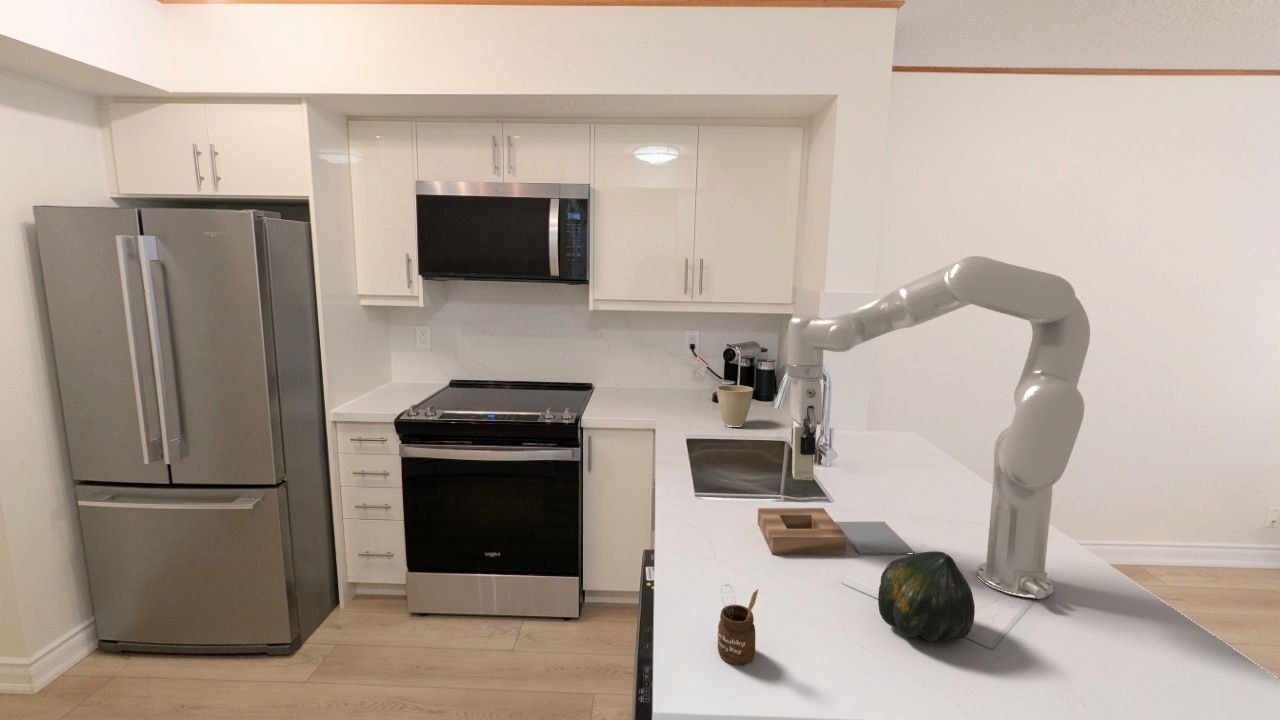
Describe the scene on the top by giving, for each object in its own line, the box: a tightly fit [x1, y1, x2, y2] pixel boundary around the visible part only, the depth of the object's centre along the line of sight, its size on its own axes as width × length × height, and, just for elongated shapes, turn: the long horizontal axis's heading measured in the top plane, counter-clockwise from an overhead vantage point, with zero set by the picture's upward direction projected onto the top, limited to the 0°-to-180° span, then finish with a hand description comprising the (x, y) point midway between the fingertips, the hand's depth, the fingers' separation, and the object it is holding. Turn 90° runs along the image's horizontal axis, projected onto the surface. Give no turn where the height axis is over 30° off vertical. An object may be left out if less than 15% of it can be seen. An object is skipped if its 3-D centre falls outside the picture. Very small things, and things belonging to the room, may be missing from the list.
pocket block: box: [757, 507, 847, 556], centre depth 131 cm, size 16×16×4 cm
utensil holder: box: [717, 583, 759, 665], centre depth 90 cm, size 6×6×12 cm
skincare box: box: [791, 421, 815, 481], centre depth 129 cm, size 6×4×12 cm
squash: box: [877, 550, 976, 642], centre depth 96 cm, size 14×15×15 cm
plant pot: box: [716, 384, 754, 426], centre depth 233 cm, size 15×15×16 cm
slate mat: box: [834, 521, 916, 556], centre depth 132 cm, size 16×12×1 cm
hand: (802, 448), depth 129 cm, fingers closed on skincare box, 6 cm apart
